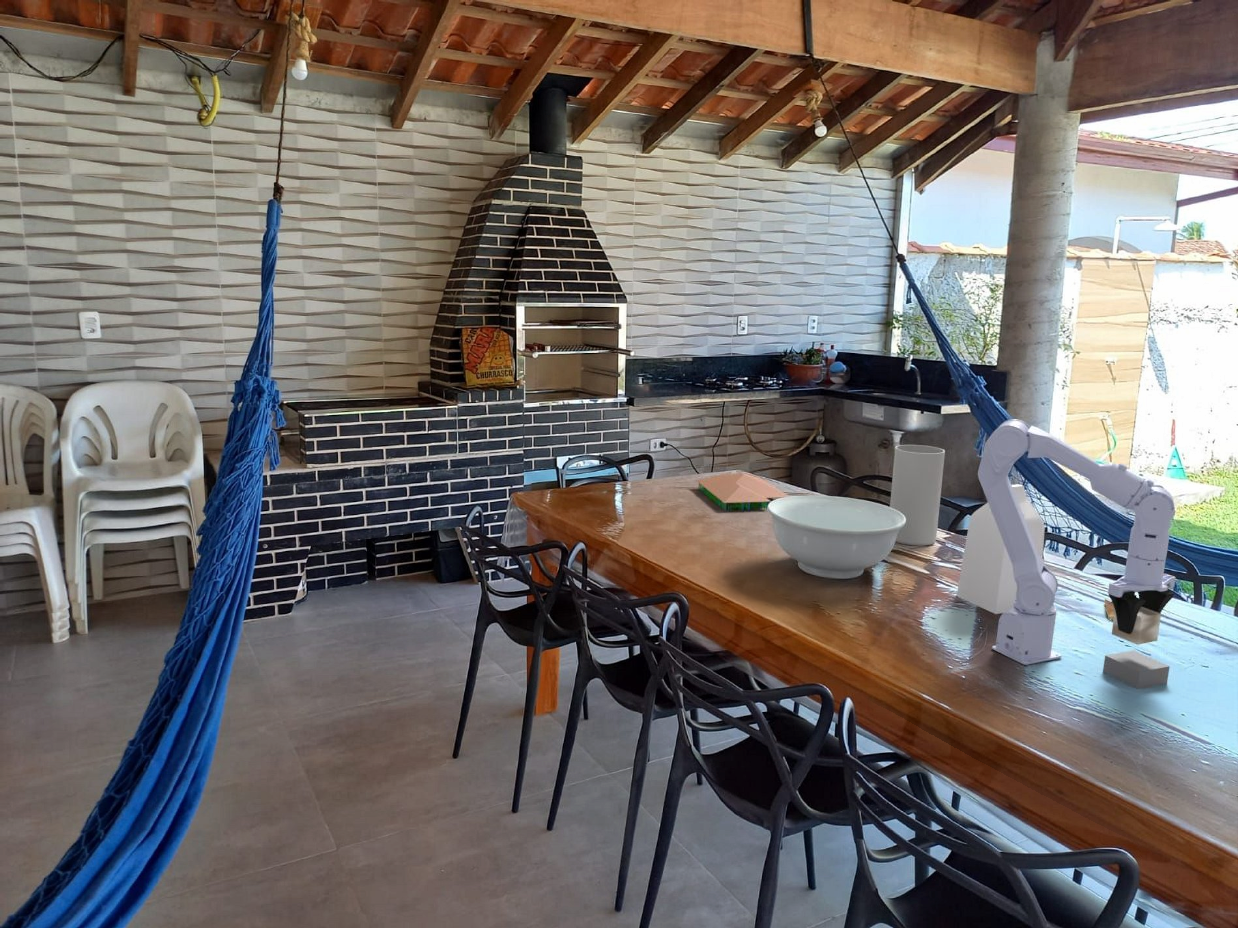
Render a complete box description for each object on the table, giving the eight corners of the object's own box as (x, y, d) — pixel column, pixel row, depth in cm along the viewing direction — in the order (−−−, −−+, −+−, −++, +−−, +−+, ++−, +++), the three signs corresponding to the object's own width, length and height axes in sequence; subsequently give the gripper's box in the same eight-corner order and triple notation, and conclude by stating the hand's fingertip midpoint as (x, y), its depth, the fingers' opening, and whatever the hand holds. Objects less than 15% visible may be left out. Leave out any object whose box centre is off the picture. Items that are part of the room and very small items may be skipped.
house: (758, 486, 296) (759, 462, 295) (795, 511, 265) (797, 485, 263) (693, 487, 292) (694, 464, 290) (723, 513, 260) (724, 486, 258)
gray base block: (1137, 690, 150) (1140, 671, 149) (1102, 673, 156) (1105, 655, 155) (1166, 684, 152) (1169, 666, 151) (1131, 668, 158) (1134, 650, 158)
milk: (998, 589, 197) (1011, 478, 192) (1038, 607, 187) (1053, 490, 182) (956, 595, 193) (968, 481, 188) (995, 614, 183) (1009, 494, 177)
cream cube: (1137, 644, 151) (1141, 617, 150) (1111, 634, 155) (1115, 607, 154) (1157, 640, 153) (1161, 613, 152) (1130, 630, 157) (1134, 604, 156)
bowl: (917, 564, 214) (922, 507, 211) (876, 602, 188) (882, 537, 185) (794, 541, 232) (797, 488, 229) (741, 573, 205) (744, 513, 202)
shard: (1103, 605, 191) (1104, 597, 190) (1144, 611, 187) (1145, 603, 187) (1106, 621, 181) (1107, 613, 181) (1148, 628, 178) (1149, 620, 177)
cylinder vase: (888, 544, 231) (896, 451, 226) (886, 531, 243) (893, 443, 238) (938, 548, 228) (947, 455, 223) (933, 535, 240) (942, 446, 235)
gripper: (1140, 567, 144) (1128, 644, 147) (1196, 558, 150) (1184, 631, 153) (1101, 555, 151) (1091, 628, 153) (1157, 546, 156) (1146, 617, 159)
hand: (1135, 629), depth 154 cm, fingers closed on cream cube, 5 cm apart
